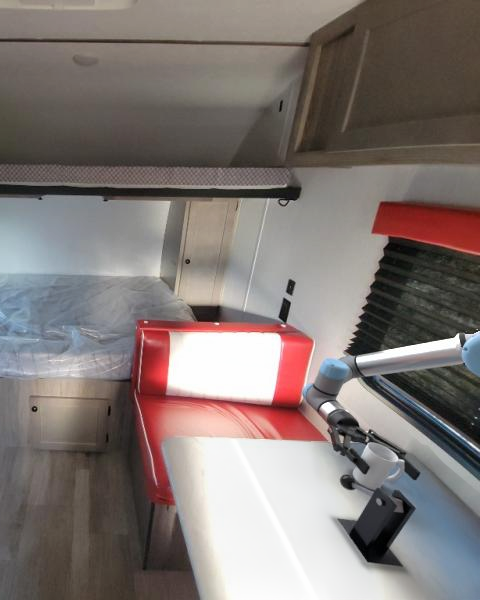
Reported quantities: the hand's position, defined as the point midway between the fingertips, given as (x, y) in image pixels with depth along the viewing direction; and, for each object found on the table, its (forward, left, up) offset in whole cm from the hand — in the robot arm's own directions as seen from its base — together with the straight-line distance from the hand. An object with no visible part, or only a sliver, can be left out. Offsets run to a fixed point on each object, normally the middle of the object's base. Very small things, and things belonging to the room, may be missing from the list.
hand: (392, 473), depth 90 cm
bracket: (+15, +15, -8) cm, 23 cm away
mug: (0, -3, -8) cm, 9 cm away
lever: (+15, +11, +1) cm, 18 cm away
